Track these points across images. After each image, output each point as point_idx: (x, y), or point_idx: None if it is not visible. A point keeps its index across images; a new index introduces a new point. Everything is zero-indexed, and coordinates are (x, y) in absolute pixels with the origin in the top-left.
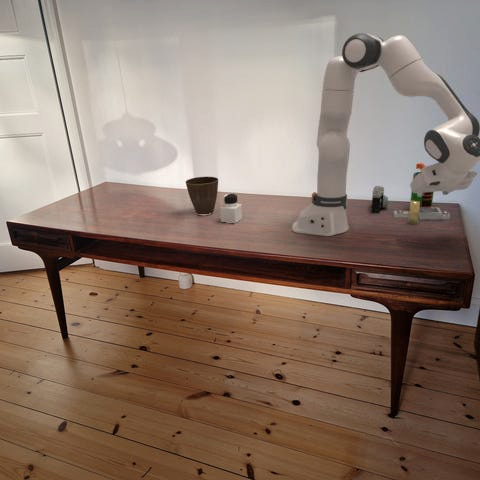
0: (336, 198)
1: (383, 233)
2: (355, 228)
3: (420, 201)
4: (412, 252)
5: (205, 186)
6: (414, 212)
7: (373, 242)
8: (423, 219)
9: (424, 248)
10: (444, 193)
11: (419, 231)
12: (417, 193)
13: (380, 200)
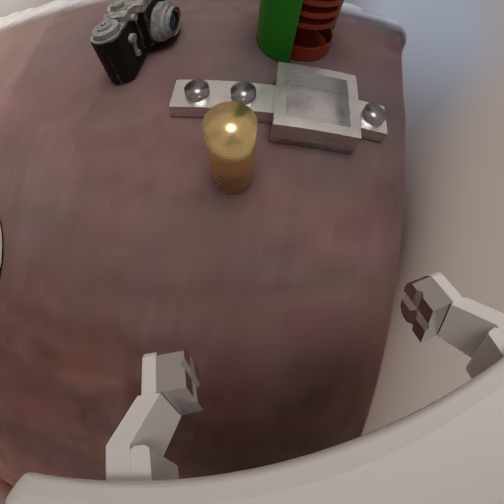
0: None
1: (90, 314)
2: (18, 254)
3: (290, 35)
4: None
5: None
6: (228, 172)
7: (58, 402)
8: (284, 141)
9: (219, 468)
10: (413, 319)
11: (237, 289)
12: (146, 361)
13: (129, 39)
